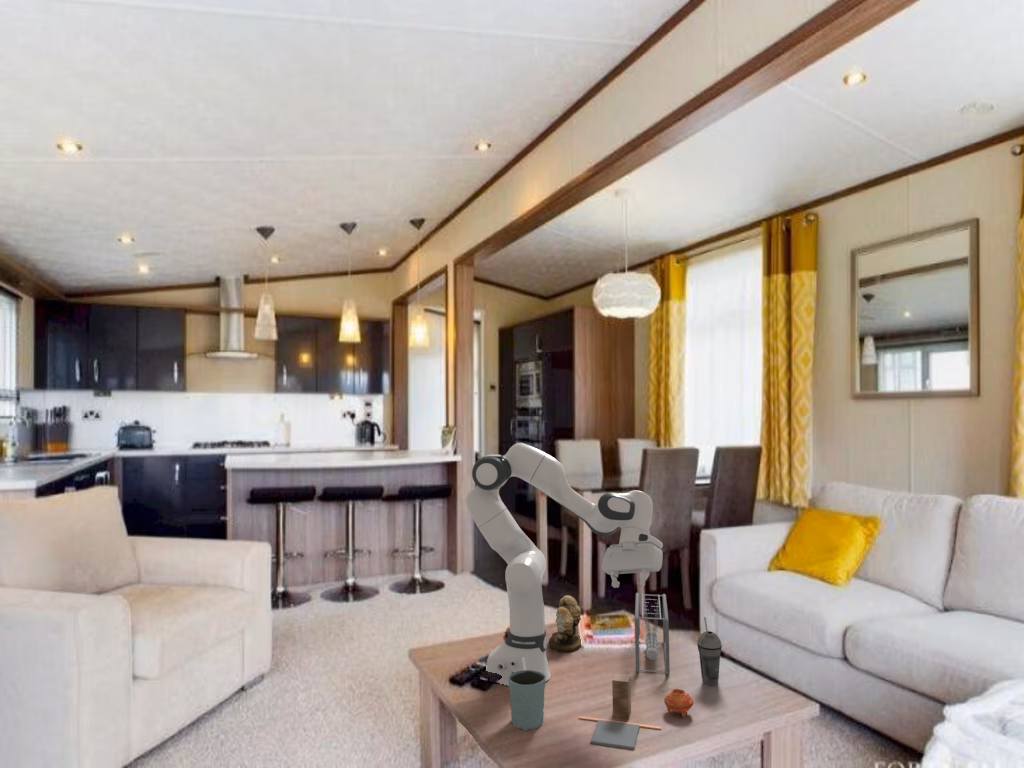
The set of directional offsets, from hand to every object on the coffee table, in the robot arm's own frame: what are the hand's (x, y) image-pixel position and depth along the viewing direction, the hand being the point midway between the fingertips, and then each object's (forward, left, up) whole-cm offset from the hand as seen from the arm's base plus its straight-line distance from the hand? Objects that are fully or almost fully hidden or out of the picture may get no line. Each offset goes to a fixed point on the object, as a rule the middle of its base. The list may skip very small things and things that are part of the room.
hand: (627, 586), depth 194 cm
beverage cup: (+22, +15, -32) cm, 42 cm away
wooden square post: (-1, -12, -32) cm, 34 cm away
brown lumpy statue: (-28, +36, -32) cm, 55 cm away
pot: (+14, -7, -32) cm, 36 cm away
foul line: (-1, -17, -32) cm, 36 cm away
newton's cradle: (+3, +31, -32) cm, 45 cm away
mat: (-1, -24, -32) cm, 40 cm away
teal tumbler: (-25, -23, -32) cm, 47 cm away
